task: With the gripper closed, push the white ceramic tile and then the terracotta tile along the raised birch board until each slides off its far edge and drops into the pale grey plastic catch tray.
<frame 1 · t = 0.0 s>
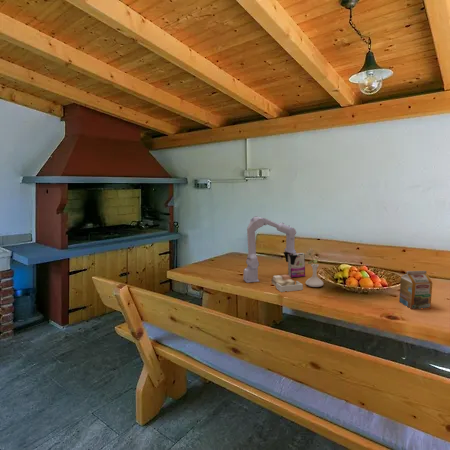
hand: (290, 263, 227), 10 cm above the table, fingers open, 7 cm apart
white tile: (277, 279, 213), point 3 cm above the table, touching birch board
terracotta tile: (285, 278, 214), point 3 cm above the table, touching birch board
milk carton: (414, 305, 174), on the table
birch board: (283, 284, 212), on the table
flower in vase: (313, 286, 208), on the table
catch tray: (289, 288, 203), on the table
candy bar box: (296, 276, 229), on the table
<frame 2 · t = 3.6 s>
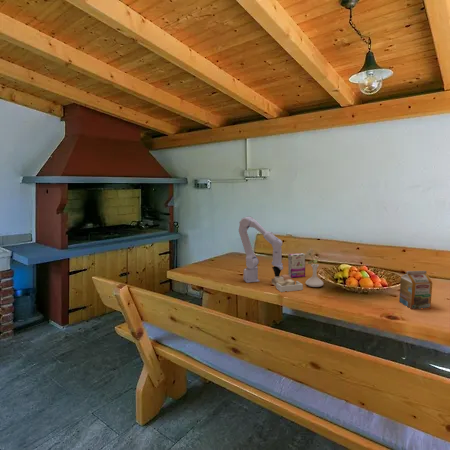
hand: (277, 277, 214), 4 cm above the table, fingers closed
white tile: (279, 280, 211), point 3 cm above the table, touching gripper
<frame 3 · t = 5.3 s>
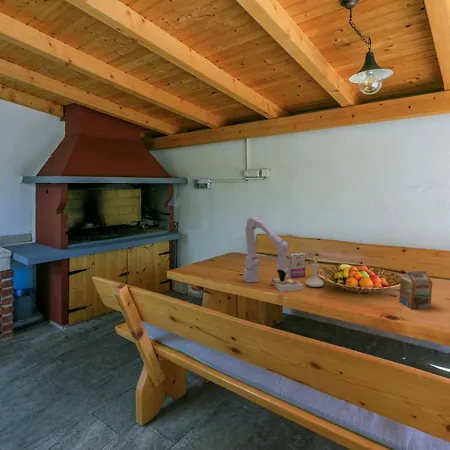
hand: (282, 281, 206), 4 cm above the table, fingers closed
white tile: (285, 285, 201), point 3 cm above the table, tilted 180°, touching catch tray
everything else where it was.
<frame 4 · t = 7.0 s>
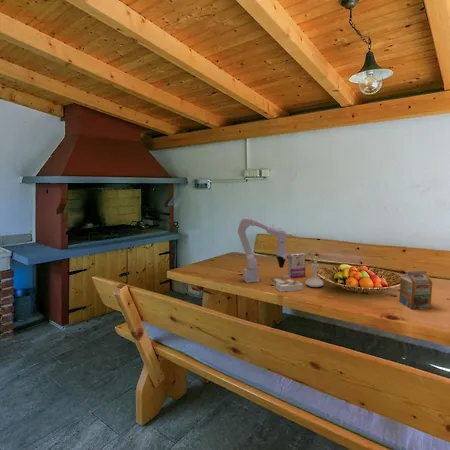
hand: (281, 267, 218), 9 cm above the table, fingers closed
nothing on the table moved.
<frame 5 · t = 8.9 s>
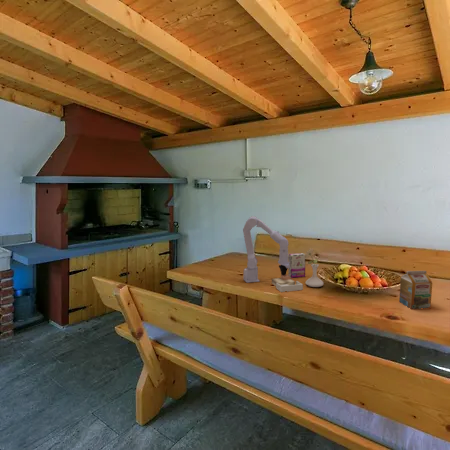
hand: (283, 275, 217), 4 cm above the table, fingers closed
terracotta tile: (285, 278, 214), point 3 cm above the table, touching birch board, gripper
everything else where it was.
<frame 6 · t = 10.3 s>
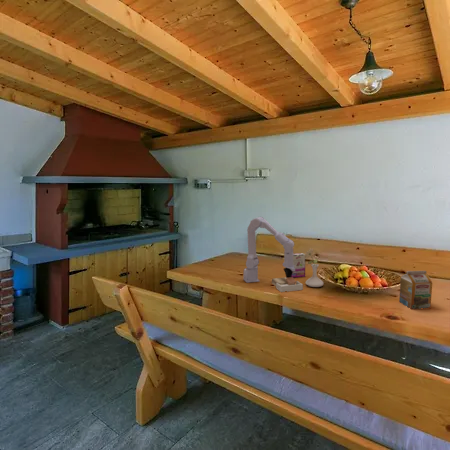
hand: (288, 279, 210), 4 cm above the table, fingers closed
terracotta tile: (290, 282, 207), point 3 cm above the table, tilted 25°, touching birch board
everything else where it was.
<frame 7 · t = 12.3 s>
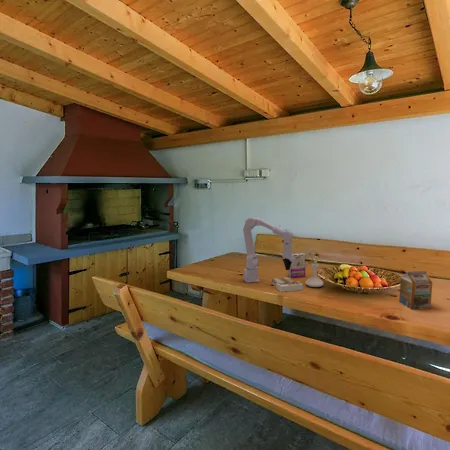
hand: (287, 269, 210), 10 cm above the table, fingers closed
terracotta tile: (293, 284, 203), point 3 cm above the table, tilted 180°, touching catch tray
everything else where it was.
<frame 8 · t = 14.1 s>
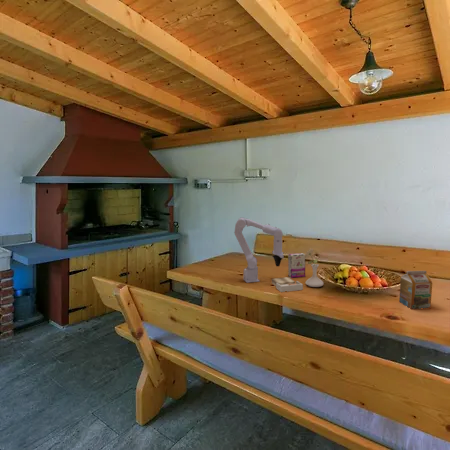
hand: (277, 266, 218), 10 cm above the table, fingers closed
nothing on the table moved.
at the end: white tile inside the target area (3.1 cm from its centre), point 2.6 cm above the table; terracotta tile inside the target area (2.8 cm from its centre), point 2.6 cm above the table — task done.
